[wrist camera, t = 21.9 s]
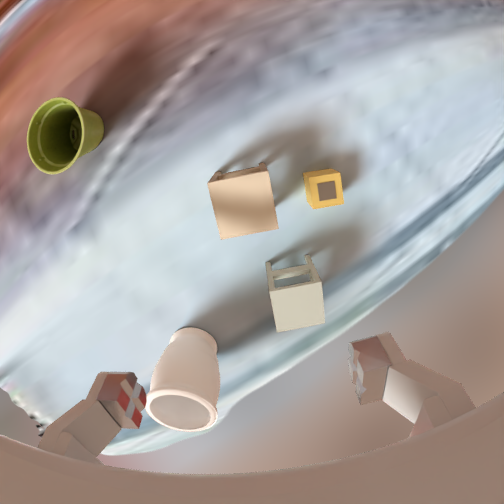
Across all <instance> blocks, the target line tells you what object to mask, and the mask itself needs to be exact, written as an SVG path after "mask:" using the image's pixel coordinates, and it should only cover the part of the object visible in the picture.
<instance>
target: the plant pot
mask: <svg viewBox="0 0 504 504" xmlns="http://www.w3.org/2000/svg"><path fill="white" fill-rule="evenodd" d="M73 130H74V137H75V139H73V135H72V131H73ZM103 134H104V124H103V121H102V119H101V117H100V116H99V115H98V114H96V113H95V112H93V111H90V110H87V109H83V108H80V107H78V106H77V105H76V104H75V103H74V102H73V101H71V100H69V99H67V98H62V97H57V98H52V99H50V100H48V101H46V102H45V103H43V104H42V105H41V106H40V107H39V108H38V109H37V110H36V112H35V113H34V115H33V117H32V119H31V121H30V124H29V128H28V133H27V147H28V152H29V155H30V158H31V160H32V162H33V163H34V164H35V166H36V167H37V168H38V169H39V170H41V171H42V172H44V173H47V174H58V173H61V172H63V171H65V170H67V169H68V168H70V167H71V166H72V165H73V164H74V163H75V161H76V160H77V159H78V158H79V157H81V156H83V155H84V154H86V153H88V152H90V151H92V150H94V149H95V148H96V147H97V146H98V145H99V143H100V141H101V140H102V138H103Z"/></svg>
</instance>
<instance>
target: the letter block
mask: <svg viewBox="0 0 504 504" xmlns="http://www.w3.org/2000/svg"><path fill="white" fill-rule="evenodd" d="M303 177H304V184H305V190H306V196H307V202H308V203H309V204H310V206H311V207H312V208H313V209H318V208H323V207H329V206H335V205H341V204H344V200H343V191H342V183H341V175H340V172H338V171H336V170H334V169H332V168H330V169H324V170H318V171H311V172H305V173H303Z"/></svg>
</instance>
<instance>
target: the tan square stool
mask: <svg viewBox="0 0 504 504" xmlns="http://www.w3.org/2000/svg"><path fill="white" fill-rule="evenodd" d="M207 184H208V188H209V192H210V197H211V201H212V205H213V209H214V213H215V217H216V221H217V225H218V229H219V234H220V238H221V240H222V239H227V238H232V237H237V236H243V235H248V234H253V233H259V232H264V231H269V230H275V229H279V228H278V222H277V217H276V211H275V205H274V200H273V194H272V189H271V183H270V178H269V173H268V170H267V168H266V166H265V164H264V163H260V164H259V167H253V168H248V169H243V170H238V171H233V172H228V173H224V174H221V171H220V172H215V174H214V175H213V176H212V178H211V179H210V180H209V182H208V183H207Z"/></svg>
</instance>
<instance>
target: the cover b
mask: <svg viewBox="0 0 504 504" xmlns="http://www.w3.org/2000/svg"><path fill="white" fill-rule="evenodd" d="M304 256H305V261H306V263H307V264H306V265H301V266H296V267H290V268H285V269H280V270H274V271H272V269H271V263H270V262H266V271H267V278H268V286H269V293H270V298H271V303H272V308H273V313H274V319H275V324H276V329H277V332H282V331H288V330H293V329H298V328H303V327H308V326H313V325H318V324H323V323H325V317H324V304H323V292H322V282H321V280H320V277H319V275H318V273H317V271H316V268H315V266H314V264H313V262H312V260H311V258H310V255H304ZM305 274H309V276H310V282H305V283H300V284H295V285H289V286H284V287H279V288H275V285H274V280H278V279H284V278H289V277H294V276H300V275H305Z"/></svg>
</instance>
